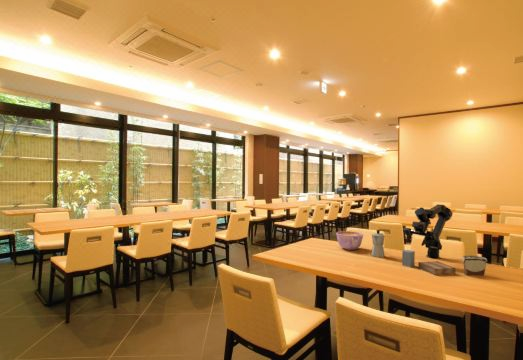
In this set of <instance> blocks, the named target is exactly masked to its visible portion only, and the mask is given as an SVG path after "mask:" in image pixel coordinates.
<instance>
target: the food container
mask: <svg viewBox="0 0 523 360" xmlns="http://www.w3.org/2000/svg"><path fill="white" fill-rule="evenodd" d="M461 260H462V261H463V269H464V270H463V271H464V275H465V276H467V277H485V274H486V265H487V263H488V259H487V258H486V257H484V256H480V255H471V254H469V255H466V254H465V255H463V256H462V259H461Z"/></svg>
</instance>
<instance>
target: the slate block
mask: <svg viewBox="0 0 523 360" xmlns="http://www.w3.org/2000/svg"><path fill="white" fill-rule="evenodd" d="M401 252H402V257H401V258H402V259H401V260H402V261H401V265H402V266H403V267H408V268H412V267H415V264H416V263H415V262H416V261H415V258H416V257H415V256H416V254H415V253H416V252H415V251H414V250H409V249H404V250H402V251H401Z"/></svg>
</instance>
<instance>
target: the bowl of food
mask: <svg viewBox="0 0 523 360" xmlns="http://www.w3.org/2000/svg"><path fill="white" fill-rule="evenodd" d="M335 234H336V238H337V243H338V245H339V246H340V247H341V248H343V249H344V250H348V251H355V250H357V249H358V248H360V246H361V245H362V242H363V238H364V233H362V232H359V231H350V230H349V231H348V230H342V231H341V230H339V231H337V232H336V233H335Z"/></svg>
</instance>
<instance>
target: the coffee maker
mask: <svg viewBox="0 0 523 360" xmlns="http://www.w3.org/2000/svg"><path fill="white" fill-rule="evenodd" d="M371 239H372V240H371V241H372V244H373V246H372V250H371V256H372V257H374V258H385V257H386V255H385V250H384V242H385V234H383V233H381V230H380V229H376V233H372V234H371Z"/></svg>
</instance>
